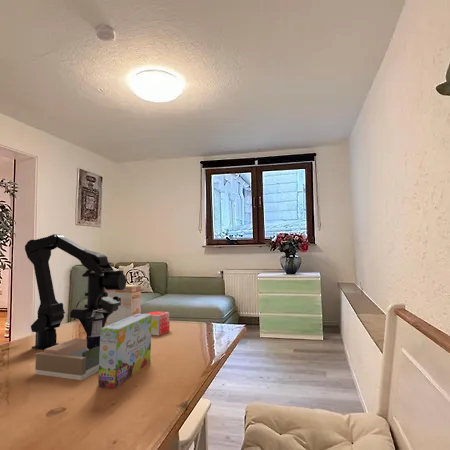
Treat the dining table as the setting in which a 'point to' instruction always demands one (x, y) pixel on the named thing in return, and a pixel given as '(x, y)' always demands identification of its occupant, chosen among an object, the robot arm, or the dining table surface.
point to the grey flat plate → (92, 357)
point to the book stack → (69, 347)
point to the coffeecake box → (125, 303)
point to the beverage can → (95, 331)
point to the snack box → (124, 349)
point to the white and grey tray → (63, 366)
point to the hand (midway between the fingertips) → (95, 334)
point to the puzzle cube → (159, 322)
